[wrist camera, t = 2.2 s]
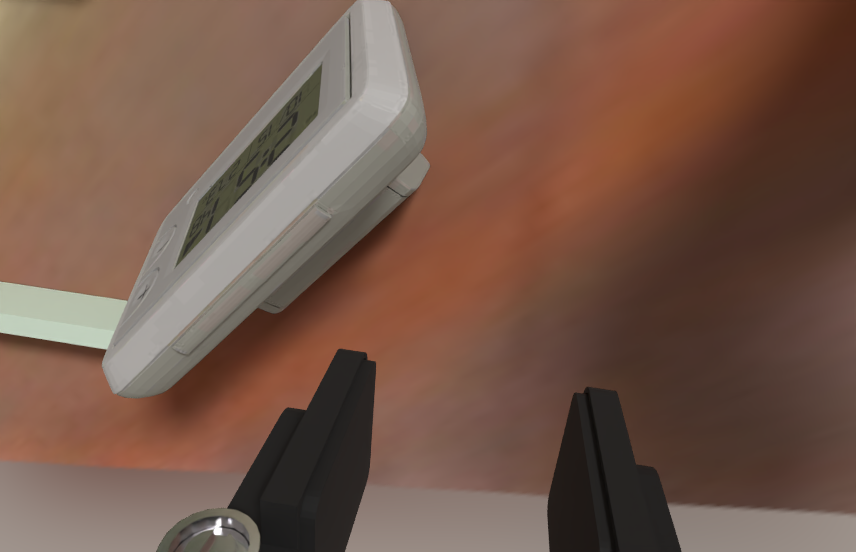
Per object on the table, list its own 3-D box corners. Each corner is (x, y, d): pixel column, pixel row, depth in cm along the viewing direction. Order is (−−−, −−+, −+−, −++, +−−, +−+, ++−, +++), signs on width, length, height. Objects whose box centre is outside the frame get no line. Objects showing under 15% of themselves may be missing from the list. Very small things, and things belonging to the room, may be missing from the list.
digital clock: (398, -25, 24) (320, -44, 14) (506, 164, 27) (500, 253, 17) (131, 172, 29) (-56, 252, 20) (243, 313, 32) (125, 444, 22)
